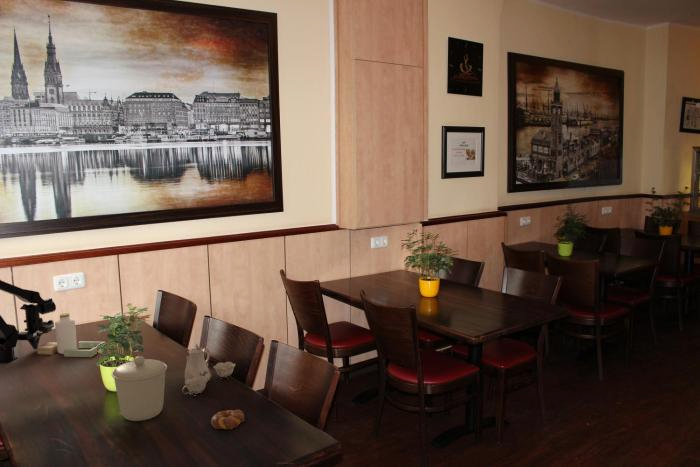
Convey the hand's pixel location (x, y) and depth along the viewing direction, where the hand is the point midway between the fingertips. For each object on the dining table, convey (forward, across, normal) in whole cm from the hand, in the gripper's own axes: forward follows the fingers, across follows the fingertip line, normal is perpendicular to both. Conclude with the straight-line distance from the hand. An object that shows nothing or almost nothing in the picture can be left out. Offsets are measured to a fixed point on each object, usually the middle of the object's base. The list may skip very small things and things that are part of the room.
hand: (35, 349), depth 268 cm
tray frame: (+1, 0, -25) cm, 25 cm away
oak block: (+1, 0, -7) cm, 7 cm away
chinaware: (+1, -35, -95) cm, 101 cm away
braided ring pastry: (+2, -67, -115) cm, 133 cm away
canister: (+1, -63, -83) cm, 104 cm away
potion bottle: (+1, 0, -16) cm, 16 cm away
